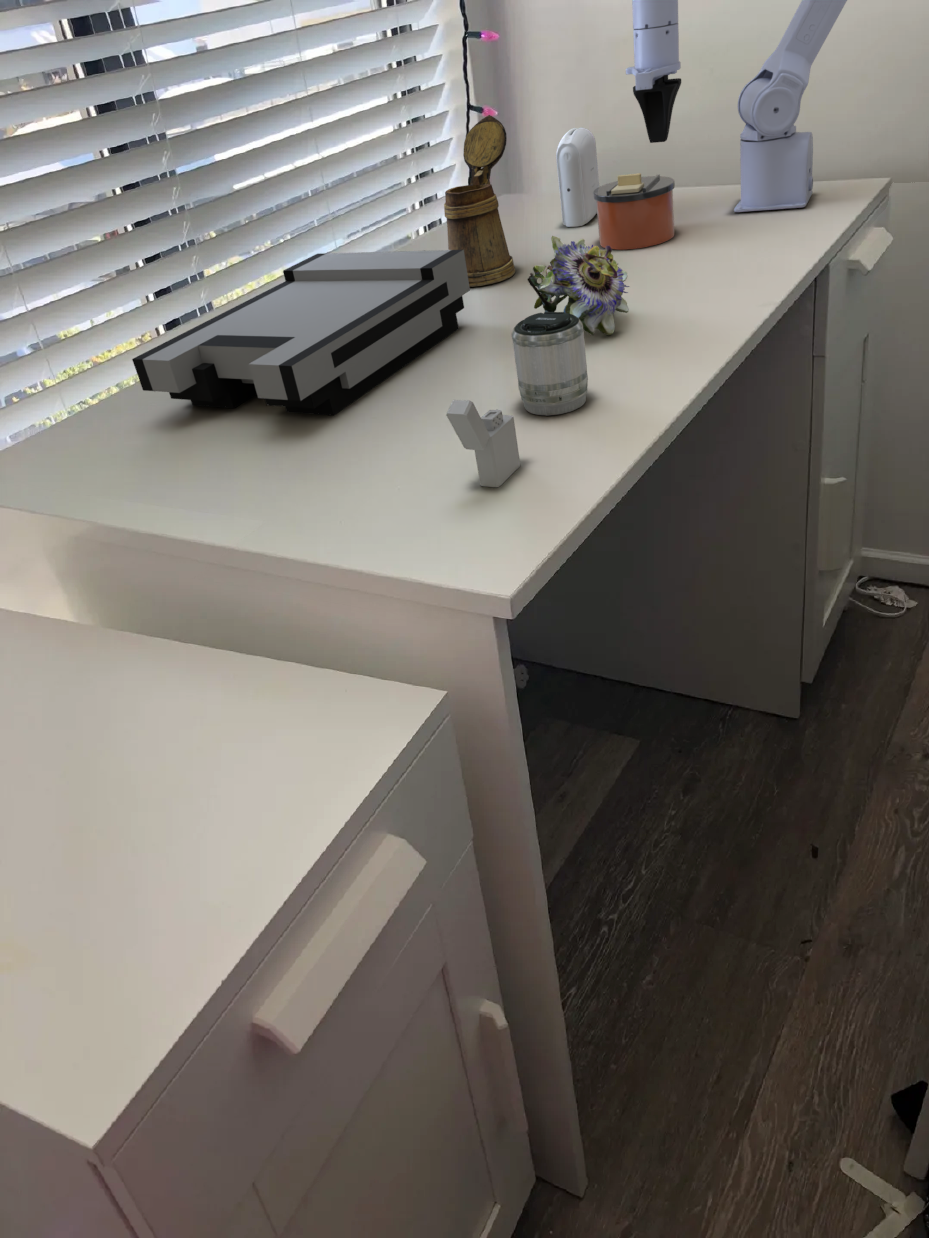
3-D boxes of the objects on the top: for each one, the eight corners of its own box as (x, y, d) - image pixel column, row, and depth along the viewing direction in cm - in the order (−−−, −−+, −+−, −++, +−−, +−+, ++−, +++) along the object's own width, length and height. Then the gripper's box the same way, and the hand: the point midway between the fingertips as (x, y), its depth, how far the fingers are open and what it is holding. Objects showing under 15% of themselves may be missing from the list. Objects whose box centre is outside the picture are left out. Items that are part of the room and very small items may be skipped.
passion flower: (610, 382, 108) (589, 315, 97) (522, 360, 113) (493, 293, 102) (652, 296, 110) (636, 221, 100) (563, 278, 115) (539, 204, 104)
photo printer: (588, 226, 146) (580, 134, 139) (559, 228, 148) (550, 137, 141) (604, 208, 154) (597, 120, 147) (577, 211, 156) (569, 124, 149)
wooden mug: (538, 256, 137) (522, 110, 127) (499, 287, 127) (477, 132, 117) (480, 258, 140) (459, 118, 131) (437, 289, 131) (411, 139, 121)
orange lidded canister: (684, 226, 137) (682, 170, 134) (666, 247, 130) (663, 189, 126) (609, 231, 142) (605, 177, 138) (587, 252, 134) (582, 196, 130)
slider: (644, 186, 130) (643, 172, 129) (638, 192, 128) (637, 178, 127) (617, 189, 132) (616, 175, 131) (611, 194, 130) (610, 180, 129)
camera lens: (573, 419, 88) (563, 331, 84) (509, 415, 91) (497, 330, 87) (600, 391, 92) (593, 306, 88) (539, 388, 95) (529, 306, 91)
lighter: (502, 463, 83) (488, 369, 78) (521, 464, 82) (508, 370, 77) (461, 503, 78) (443, 405, 73) (481, 505, 77) (464, 407, 72)
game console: (154, 423, 104) (127, 347, 100) (332, 320, 126) (317, 253, 122) (310, 437, 94) (288, 352, 90) (474, 322, 116) (463, 249, 112)
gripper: (639, 24, 136) (643, 133, 143) (609, 36, 125) (615, 154, 132) (691, 17, 133) (692, 129, 140) (666, 29, 122) (668, 150, 129)
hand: (658, 141), depth 136 cm, fingers closed
